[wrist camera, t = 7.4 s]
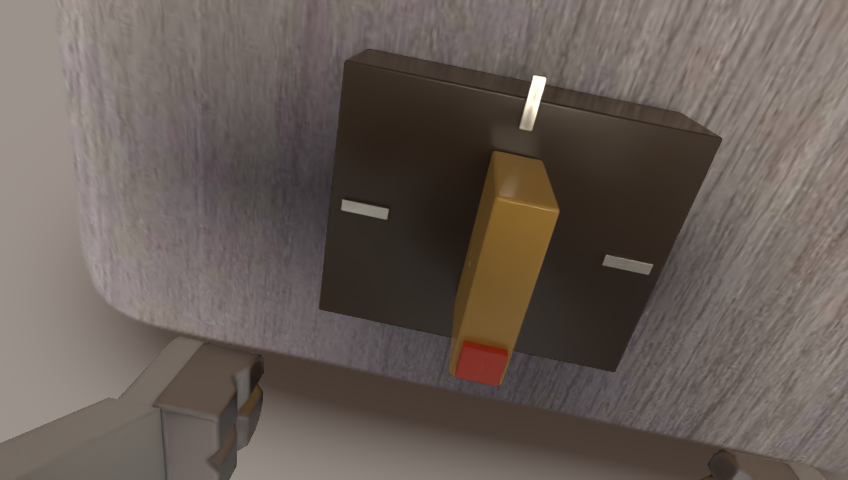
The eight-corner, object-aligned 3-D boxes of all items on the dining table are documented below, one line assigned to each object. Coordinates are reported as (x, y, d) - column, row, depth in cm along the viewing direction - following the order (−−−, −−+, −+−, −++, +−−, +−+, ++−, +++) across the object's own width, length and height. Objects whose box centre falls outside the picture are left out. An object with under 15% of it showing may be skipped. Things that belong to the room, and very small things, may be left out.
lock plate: (690, 93, 15) (737, 116, 13) (591, 332, 20) (610, 390, 17) (370, 27, 16) (345, 35, 13) (339, 279, 20) (315, 327, 17)
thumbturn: (492, 149, 14) (495, 200, 10) (543, 159, 14) (562, 214, 10) (454, 300, 16) (447, 382, 13) (498, 309, 16) (502, 394, 13)
